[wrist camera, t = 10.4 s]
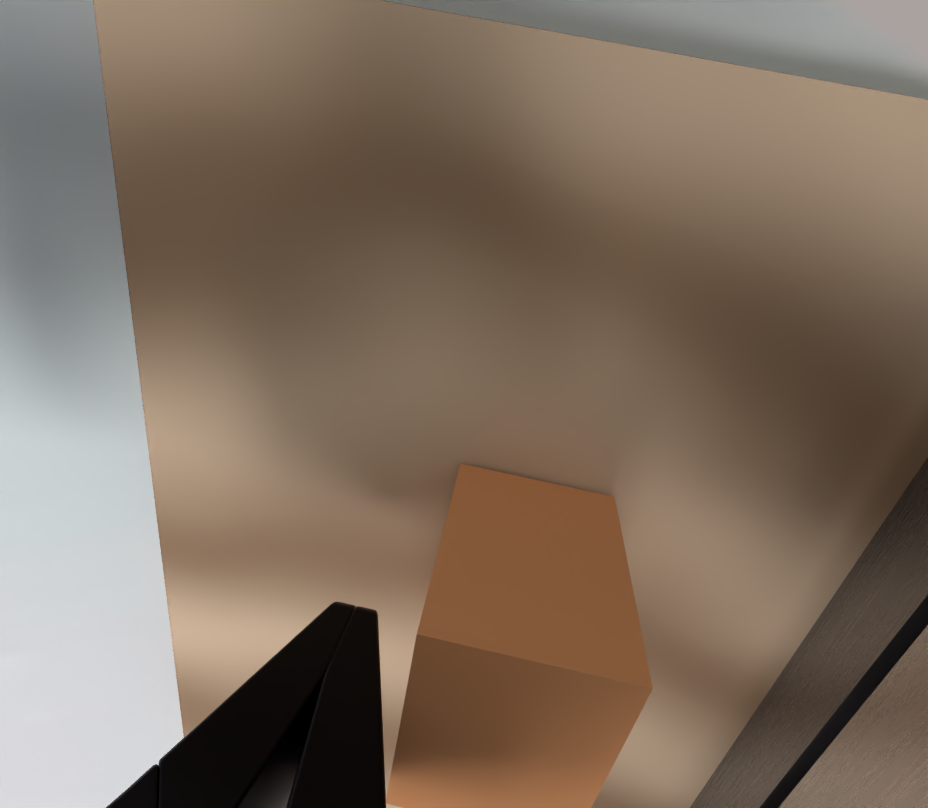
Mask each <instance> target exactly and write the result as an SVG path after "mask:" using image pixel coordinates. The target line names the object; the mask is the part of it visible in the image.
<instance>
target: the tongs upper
mask: <svg viewBox="0 0 928 808" xmlns="http://www.w3.org/2000/svg"><path fill="white" fill-rule="evenodd" d="M779 808H928V625H927V627H926V628H925V629H924V630H923V631H922V633H921V634H920V635H919V636H918V638H917V639H916V640H915V641H914V642H913V644H912V645H911V646H910V647H909V649H908V650H907V651H906V652H905V653H904V655H903V656H902V657H901V658H900V660H899V661H898V662H897V663H896V665H895V666H894V667H893V668H892V669H891V671H890V672H889V673H888V674H887V676H886V677H885V678H884V679H883V680H882V682H881V683H880V684H879V685H878V687H877V688H876V689H875V690H874V691H873V693H872V694H871V695H870V696H869V698H868V699H867V700H866V701H865V702H864V704H863V705H862V706H861V707H860V709H859V710H858V711H857V712H856V713H855V715H854V716H853V717H852V718H851V720H850V721H849V722H848V723H847V725H846V726H845V727H844V728H843V729H842V731H841V732H840V733H839V734H838V736H837V737H836V738H835V739H834V740H833V742H832V743H831V744H830V745H829V747H828V748H827V749H826V750H825V751H824V753H823V754H822V755H821V756H820V758H819V759H818V760H817V761H816V762H815V764H814V765H813V766H812V767H811V769H810V770H809V771H808V772H807V774H806V775H805V776H804V777H803V778H802V780H801V781H800V782H799V783H798V785H797V786H796V787H795V788H794V789H793V791H792V792H791V793H790V794H789V796H788V797H787V798H786V799H785V800H784V802H783V803H782V804H781V805H780V807H779Z"/></svg>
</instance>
